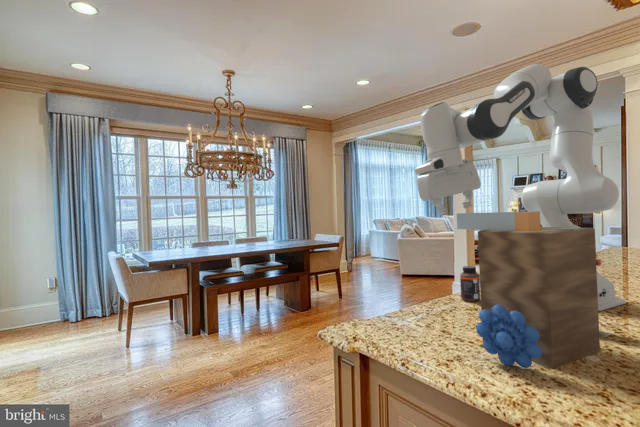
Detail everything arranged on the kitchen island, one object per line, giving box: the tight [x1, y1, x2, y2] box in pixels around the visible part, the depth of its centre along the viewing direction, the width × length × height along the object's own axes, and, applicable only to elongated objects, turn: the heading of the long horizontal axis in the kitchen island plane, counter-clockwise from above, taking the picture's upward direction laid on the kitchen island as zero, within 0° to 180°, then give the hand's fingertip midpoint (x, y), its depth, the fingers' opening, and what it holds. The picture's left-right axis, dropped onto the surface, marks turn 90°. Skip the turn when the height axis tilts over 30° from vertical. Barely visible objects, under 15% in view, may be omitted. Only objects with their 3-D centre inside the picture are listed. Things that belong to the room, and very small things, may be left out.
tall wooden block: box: [477, 226, 601, 369], centre depth 78 cm, size 16×16×26 cm
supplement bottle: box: [459, 265, 481, 303], centre depth 119 cm, size 6×6×11 cm
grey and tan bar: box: [456, 211, 542, 231], centre depth 82 cm, size 19×4×4 cm, turn 25°
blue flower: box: [475, 304, 542, 369], centre depth 69 cm, size 12×7×12 cm, turn 52°
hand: (456, 211), depth 98 cm, fingers open, 8 cm apart
